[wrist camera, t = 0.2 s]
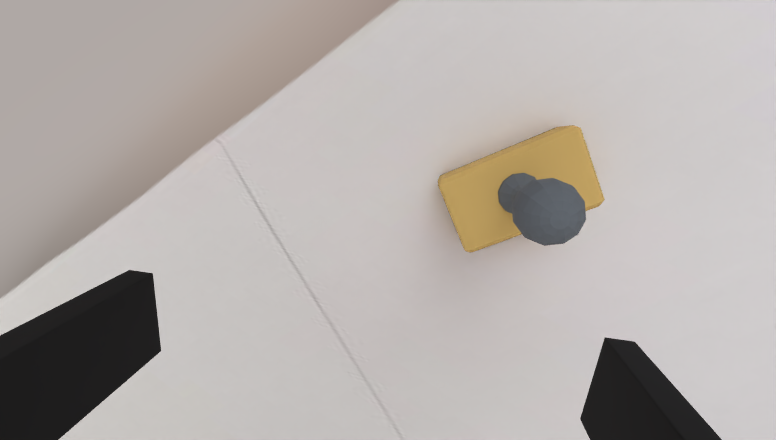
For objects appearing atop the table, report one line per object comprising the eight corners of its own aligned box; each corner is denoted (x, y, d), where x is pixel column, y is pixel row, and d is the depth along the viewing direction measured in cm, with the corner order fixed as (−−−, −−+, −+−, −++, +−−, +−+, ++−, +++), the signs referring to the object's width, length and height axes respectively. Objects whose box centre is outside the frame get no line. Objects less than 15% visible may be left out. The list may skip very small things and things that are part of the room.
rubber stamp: (462, 241, 30) (481, 307, 18) (436, 176, 29) (437, 201, 17) (585, 196, 28) (693, 236, 16) (560, 125, 27) (657, 114, 15)
